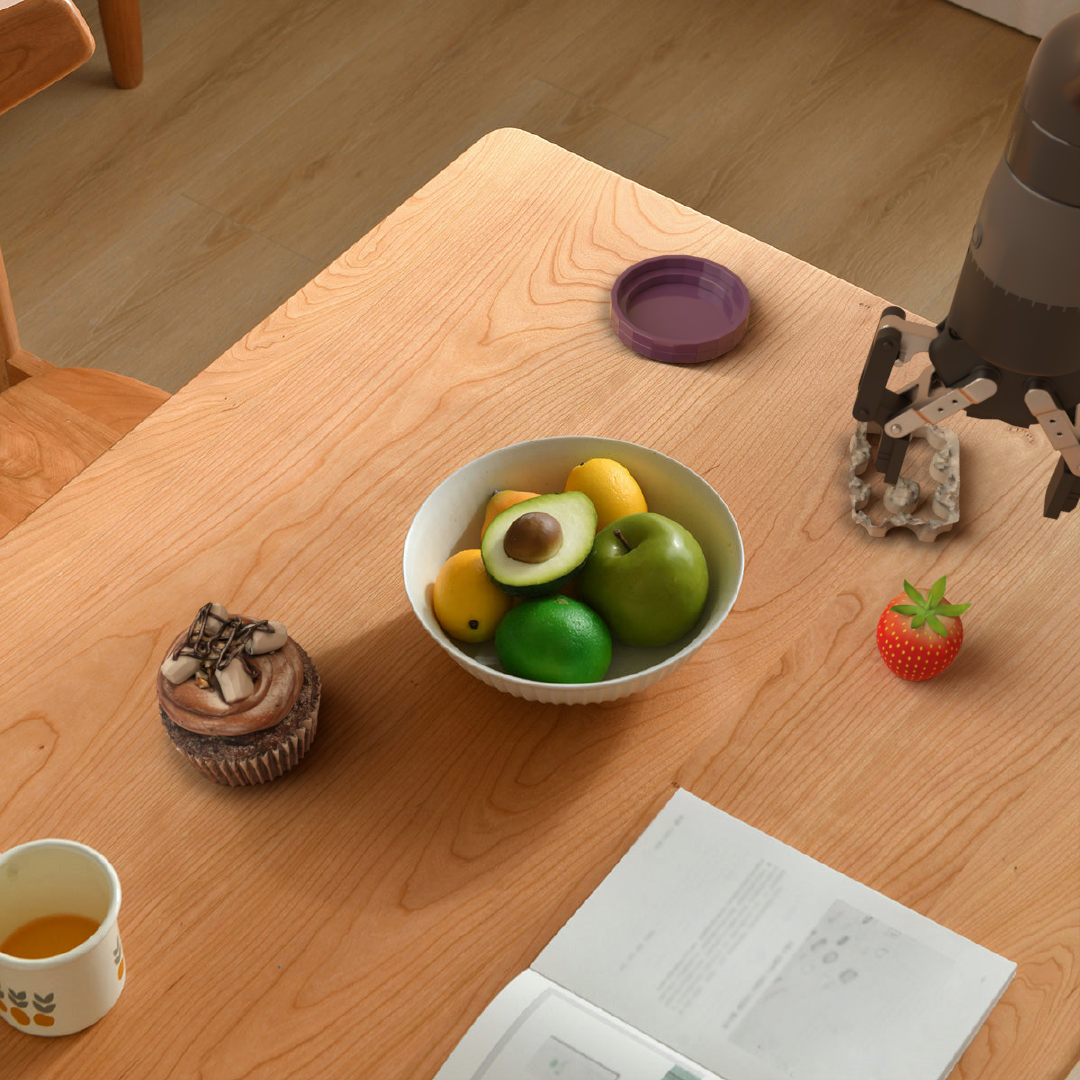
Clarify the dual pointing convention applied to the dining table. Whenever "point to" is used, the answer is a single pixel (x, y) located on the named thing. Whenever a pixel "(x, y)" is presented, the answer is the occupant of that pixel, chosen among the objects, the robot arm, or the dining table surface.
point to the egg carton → (909, 484)
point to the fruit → (920, 632)
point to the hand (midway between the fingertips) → (969, 490)
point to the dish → (679, 308)
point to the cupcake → (238, 697)
